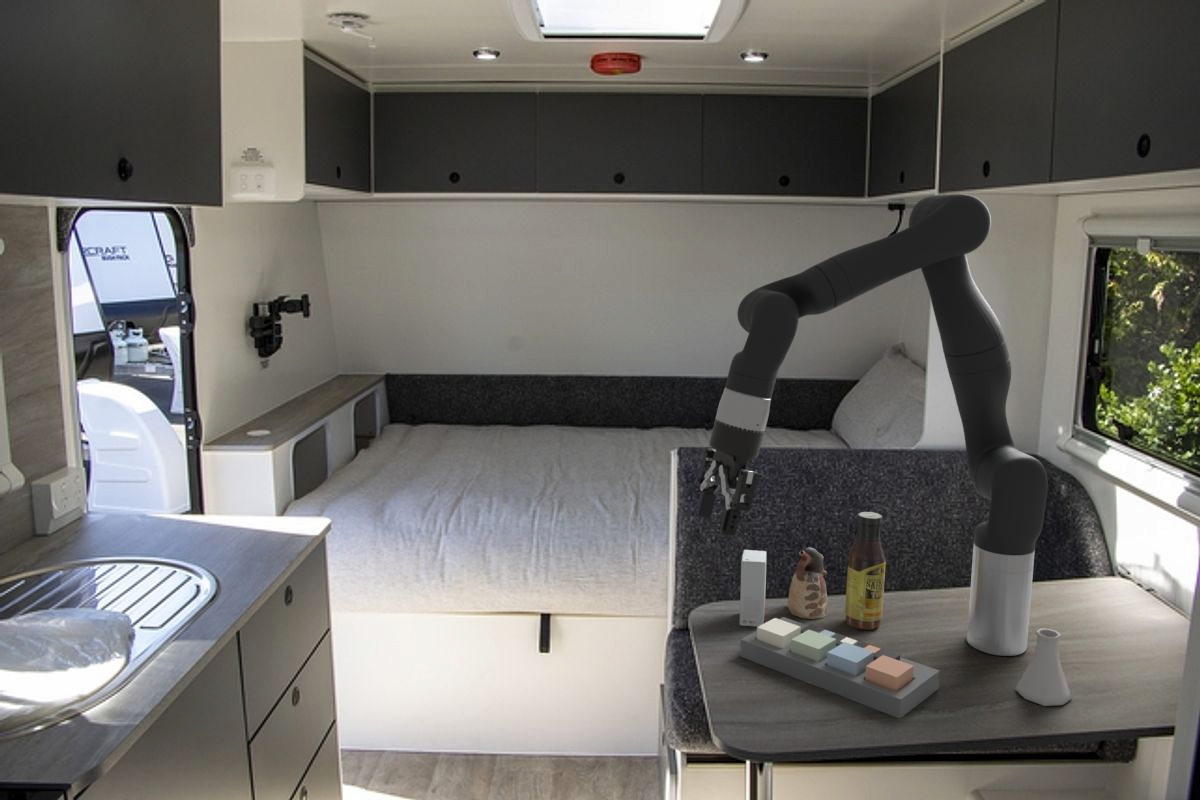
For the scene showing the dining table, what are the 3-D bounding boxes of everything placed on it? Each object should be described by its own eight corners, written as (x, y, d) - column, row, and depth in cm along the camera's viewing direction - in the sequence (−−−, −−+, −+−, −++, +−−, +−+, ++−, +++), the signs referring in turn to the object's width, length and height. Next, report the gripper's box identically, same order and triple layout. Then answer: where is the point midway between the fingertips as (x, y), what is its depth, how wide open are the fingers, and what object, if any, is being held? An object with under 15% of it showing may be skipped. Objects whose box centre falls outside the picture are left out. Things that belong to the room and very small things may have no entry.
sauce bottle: (868, 635, 163) (873, 523, 160) (837, 623, 168) (842, 515, 164) (889, 624, 168) (895, 515, 164) (858, 613, 172) (863, 507, 168)
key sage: (808, 643, 155) (808, 629, 154) (835, 653, 151) (836, 638, 151) (790, 654, 151) (791, 639, 151) (818, 664, 148) (818, 649, 147)
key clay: (881, 670, 146) (882, 655, 145) (912, 681, 142) (913, 665, 142) (865, 681, 142) (865, 666, 142) (896, 693, 139) (897, 677, 138)
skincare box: (764, 628, 167) (765, 562, 164) (739, 626, 167) (740, 561, 165) (765, 613, 172) (767, 550, 170) (741, 612, 173) (742, 549, 171)
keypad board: (782, 633, 164) (783, 611, 164) (938, 688, 145) (940, 664, 144) (740, 656, 156) (740, 633, 155) (899, 718, 137) (901, 692, 136)
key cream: (774, 631, 159) (775, 617, 159) (800, 641, 156) (800, 626, 155) (756, 641, 156) (757, 627, 155) (782, 651, 152) (783, 636, 152)
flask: (1005, 689, 145) (1010, 627, 143) (1041, 679, 148) (1046, 619, 146) (1044, 711, 138) (1050, 647, 136) (1081, 701, 141) (1087, 638, 139)
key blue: (844, 656, 150) (844, 641, 150) (873, 667, 147) (873, 651, 146) (826, 667, 147) (827, 652, 146) (856, 678, 143) (856, 662, 143)
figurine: (836, 613, 172) (839, 550, 170) (807, 622, 169) (810, 558, 166) (808, 600, 178) (810, 538, 176) (779, 608, 175) (781, 546, 172)
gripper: (785, 437, 138) (757, 544, 140) (741, 415, 151) (717, 513, 154) (739, 429, 135) (711, 537, 138) (699, 407, 149) (674, 507, 151)
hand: (714, 524), depth 146 cm, fingers open, 8 cm apart
